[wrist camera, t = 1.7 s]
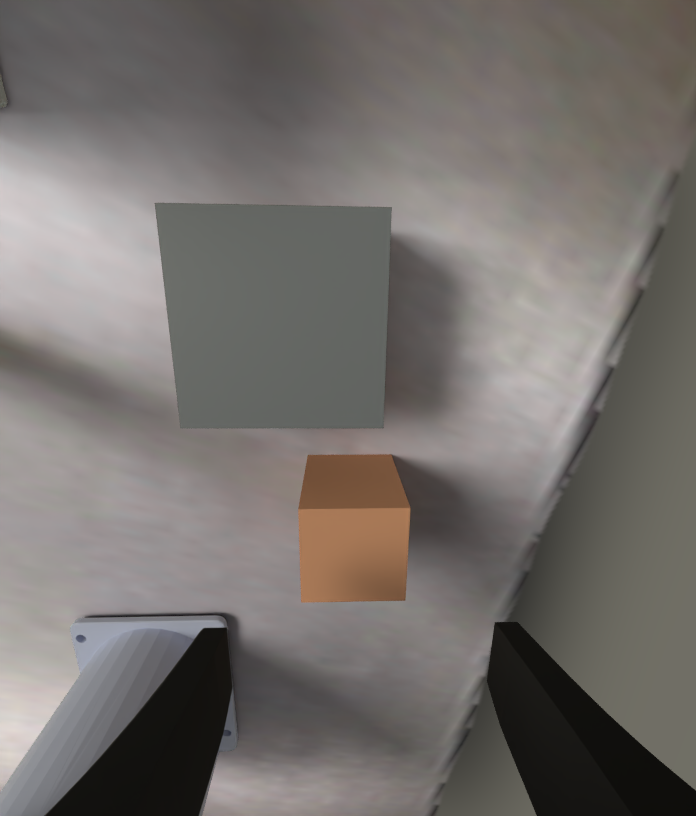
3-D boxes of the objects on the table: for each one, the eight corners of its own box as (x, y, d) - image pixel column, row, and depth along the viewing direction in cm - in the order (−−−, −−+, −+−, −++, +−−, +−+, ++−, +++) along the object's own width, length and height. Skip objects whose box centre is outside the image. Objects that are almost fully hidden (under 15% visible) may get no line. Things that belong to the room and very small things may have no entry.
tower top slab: (375, 408, 16) (383, 428, 14) (204, 408, 16) (180, 428, 13) (381, 223, 14) (391, 207, 12) (186, 219, 14) (154, 203, 11)
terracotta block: (388, 526, 20) (405, 600, 15) (309, 528, 20) (301, 602, 15) (391, 454, 19) (410, 507, 14) (307, 454, 18) (298, 509, 14)
